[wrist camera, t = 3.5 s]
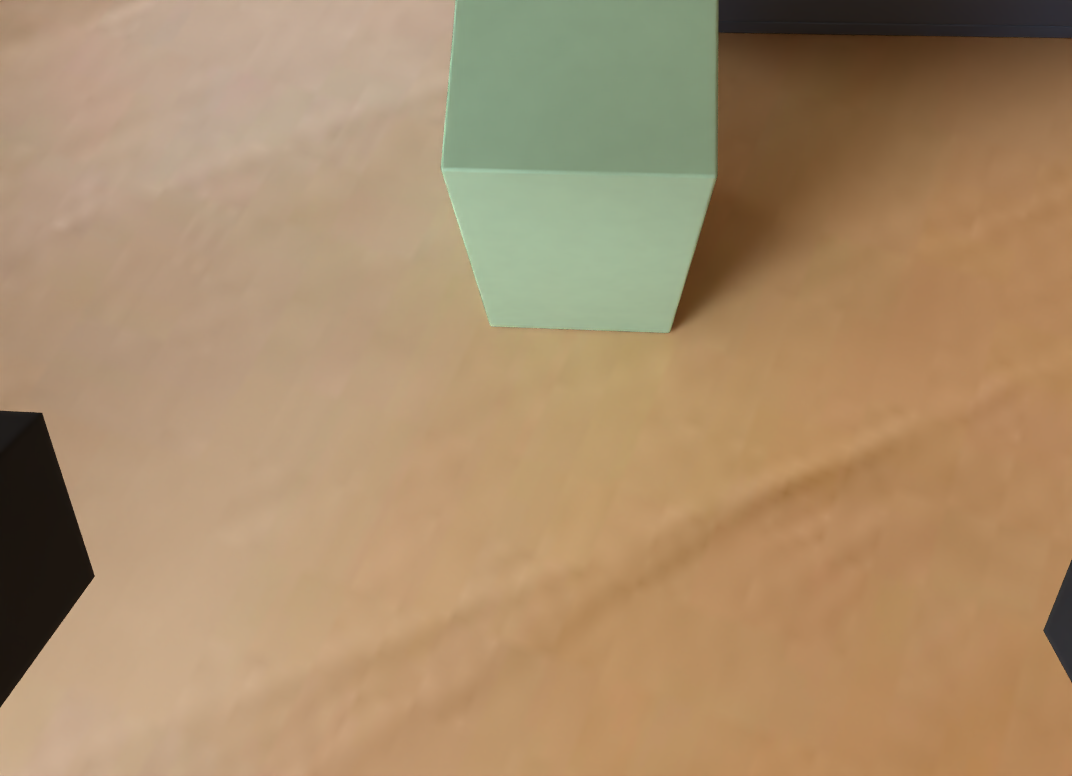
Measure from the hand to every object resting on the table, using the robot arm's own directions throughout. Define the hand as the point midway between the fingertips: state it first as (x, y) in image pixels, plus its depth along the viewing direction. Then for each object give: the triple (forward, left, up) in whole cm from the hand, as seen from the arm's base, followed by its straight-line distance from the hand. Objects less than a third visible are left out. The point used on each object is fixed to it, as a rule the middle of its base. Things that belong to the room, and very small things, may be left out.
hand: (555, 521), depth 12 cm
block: (0, +10, -15) cm, 18 cm away
